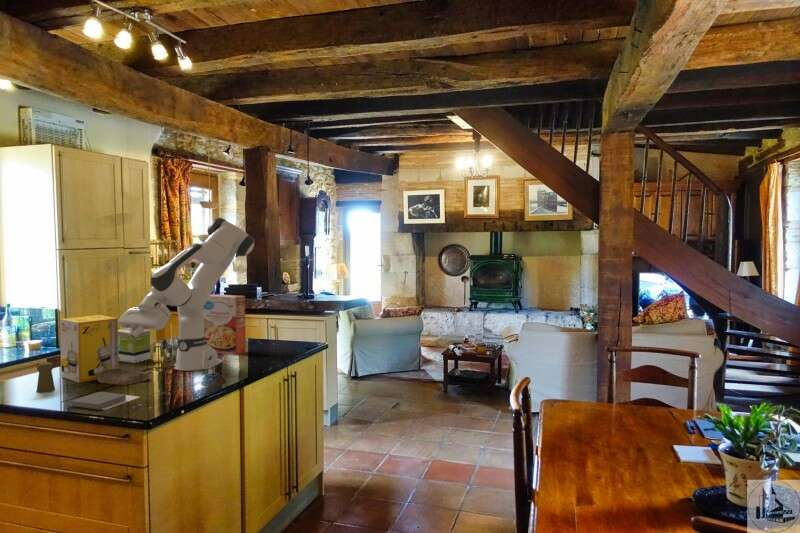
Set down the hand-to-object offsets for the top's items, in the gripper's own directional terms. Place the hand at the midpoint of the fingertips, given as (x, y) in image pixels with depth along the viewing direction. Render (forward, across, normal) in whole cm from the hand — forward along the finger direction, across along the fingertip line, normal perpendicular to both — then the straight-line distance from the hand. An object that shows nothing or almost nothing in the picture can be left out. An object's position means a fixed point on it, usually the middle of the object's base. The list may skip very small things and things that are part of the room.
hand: (132, 336), depth 205 cm
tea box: (-15, -42, +45) cm, 63 cm away
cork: (+23, -32, +8) cm, 40 cm away
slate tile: (+23, +2, +6) cm, 23 cm away
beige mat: (+26, +2, +5) cm, 26 cm away
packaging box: (+7, -35, +24) cm, 43 cm away
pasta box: (-37, -12, +67) cm, 77 cm away
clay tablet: (+8, -16, +23) cm, 29 cm away
